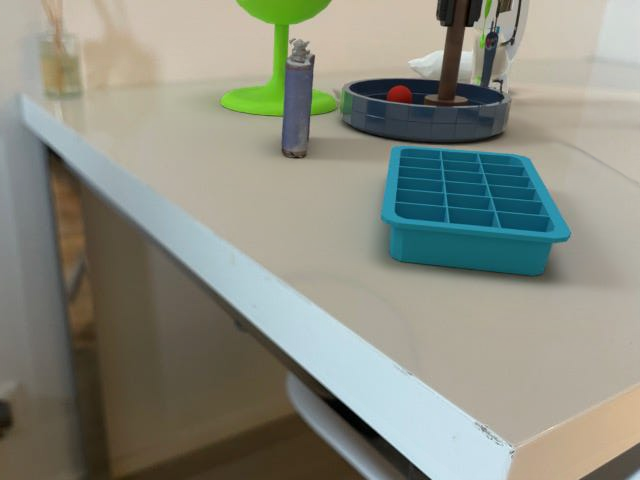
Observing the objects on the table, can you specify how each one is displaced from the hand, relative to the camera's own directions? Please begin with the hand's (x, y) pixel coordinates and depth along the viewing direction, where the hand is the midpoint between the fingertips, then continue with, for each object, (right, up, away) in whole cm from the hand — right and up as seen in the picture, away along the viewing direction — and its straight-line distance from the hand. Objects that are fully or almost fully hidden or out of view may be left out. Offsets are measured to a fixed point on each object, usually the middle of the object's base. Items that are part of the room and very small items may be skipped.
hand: (456, 25), depth 75 cm
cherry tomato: (-5, -6, +9) cm, 11 cm away
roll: (+7, +2, +31) cm, 32 cm away
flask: (-19, -15, -5) cm, 25 cm away
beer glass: (+10, -3, +20) cm, 23 cm away
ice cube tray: (-7, -25, -24) cm, 35 cm away
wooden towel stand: (0, -8, +4) cm, 9 cm away
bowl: (-3, -10, +6) cm, 12 cm away
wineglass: (-20, -5, +15) cm, 25 cm away
